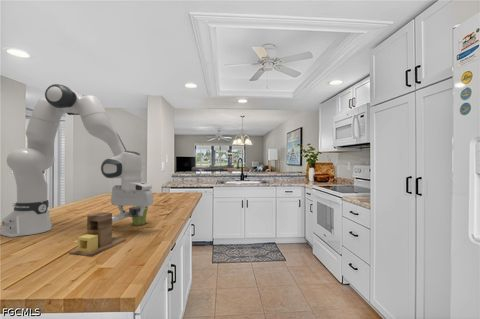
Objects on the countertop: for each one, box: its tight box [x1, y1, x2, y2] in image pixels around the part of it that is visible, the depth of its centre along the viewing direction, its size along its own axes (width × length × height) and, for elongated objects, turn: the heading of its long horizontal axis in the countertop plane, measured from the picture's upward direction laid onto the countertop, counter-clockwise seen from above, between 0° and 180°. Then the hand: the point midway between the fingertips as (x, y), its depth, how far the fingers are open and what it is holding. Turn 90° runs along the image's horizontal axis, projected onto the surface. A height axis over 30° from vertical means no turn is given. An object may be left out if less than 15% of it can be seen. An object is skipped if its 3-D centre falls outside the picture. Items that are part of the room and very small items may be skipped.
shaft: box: [96, 206, 140, 226], centre depth 109 cm, size 24×4×4 cm, turn 168°
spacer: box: [77, 233, 98, 252], centre depth 93 cm, size 4×5×5 cm
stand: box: [68, 211, 127, 257], centre depth 98 cm, size 10×18×13 cm, turn 168°
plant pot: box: [130, 206, 150, 226], centre depth 133 cm, size 9×9×9 cm
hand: (131, 215), depth 117 cm, fingers open, 8 cm apart
